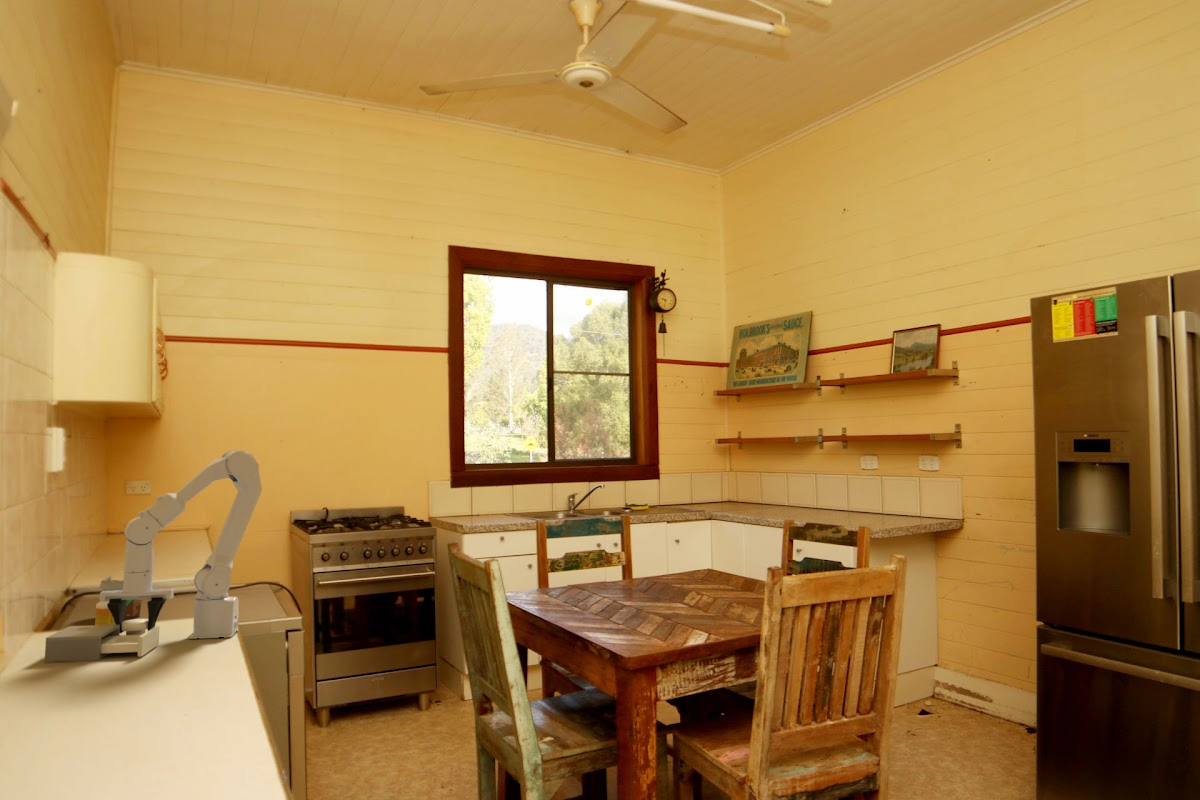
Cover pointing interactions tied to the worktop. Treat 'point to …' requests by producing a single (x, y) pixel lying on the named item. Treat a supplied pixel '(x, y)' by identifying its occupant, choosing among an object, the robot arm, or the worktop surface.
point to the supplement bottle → (103, 614)
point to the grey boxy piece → (78, 643)
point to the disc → (135, 625)
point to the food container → (132, 605)
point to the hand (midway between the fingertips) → (135, 632)
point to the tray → (131, 642)
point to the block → (135, 632)
